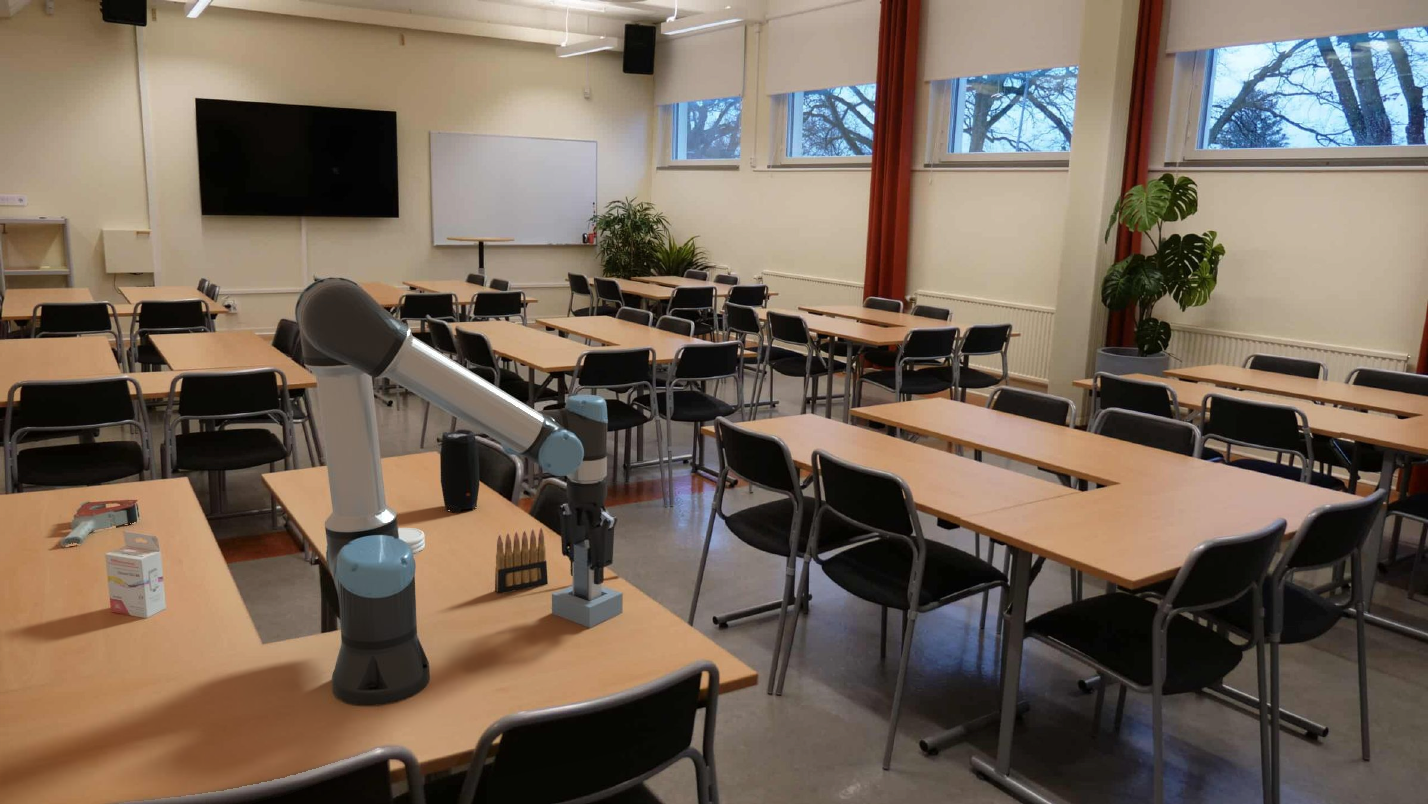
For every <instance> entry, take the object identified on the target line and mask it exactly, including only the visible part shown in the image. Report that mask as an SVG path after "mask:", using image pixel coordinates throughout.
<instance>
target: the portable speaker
mask: <svg viewBox="0 0 1428 804" xmlns="http://www.w3.org/2000/svg"><path fill="white" fill-rule="evenodd" d="M441 437H442V438H441V439H442V441H441V448H440V456H439V457H440V459H439V461H440V485H441V492H442V496H443V497H442V498H443V504H444V507H445V509H446V511H447V510H450V511H452V512H451V513H460V512H459V511H461V510H466V509H470V510H471V509H474V508H475V507H477V506H478V505H477V504H478V500H479V499H478V498H479V489H480V462H479V461H480V460H479V450H478V449H479V448H478V445H477V441H476V435H475V433H474V432H473V431H472V430H471V429H458V430H456V431H450V432H449V431H448V432H446V431H445V432H443V433H442V436H441ZM474 510H475V509H474Z"/></svg>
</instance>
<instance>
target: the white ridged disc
mask: <svg viewBox="0 0 1428 804" xmlns="http://www.w3.org/2000/svg"><path fill="white" fill-rule="evenodd" d="M398 533H399V539H401V540H403V541H405V542H406V543H407V544H408V545H409V546H410V547H411V549H412V551H413V555H414V553H415V554H417V552H418V553H420V552H422V551H423V550H424V549H425V547H426V545H425V541H426V539H425V533H424V532H423V531H422V530H420V529H419V528H414V527H398ZM423 548H424V549H423ZM421 550H422V551H421ZM419 551H420V552H419Z"/></svg>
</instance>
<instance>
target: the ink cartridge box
mask: <svg viewBox="0 0 1428 804" xmlns="http://www.w3.org/2000/svg"><path fill="white" fill-rule="evenodd" d="M122 533H123V537H124V543H125V545H124V546H121V547H119V548H117V549H114V550H112V551H109V552H107V553H105V554H104V556H105V566H106V574H107V575H106V576H107V583H108V585H107V586H108V594H109V595H108V596H109V605H110V612H111V613H116V614H119V615H121V614H122V615H127V616H132V617H137V618H141V619H142V618H144V619H147V618H150V617H152V616H154V615H155V614H158V613H159V612H162V611H164V610H165V609H166V608H167V607H166V606H167V605H166V595H165V585H164V571H163V562H162V552H161V550H160V544H159V538H158V536H157V535H153V534H145V533H141V532H134V531H127V530H125V531H123V532H122ZM136 539H138V540H139V539H142V540H144V541H146V542H143V541H137V540H136Z"/></svg>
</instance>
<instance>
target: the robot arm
mask: <svg viewBox="0 0 1428 804" xmlns="http://www.w3.org/2000/svg"><path fill="white" fill-rule="evenodd" d="M298 296H299V297H298V299H297V301H296V304H295V309H294V317H295V322H296V324H297V325H298V326H297V327H298V328H299V333H300V344H301V351H302V357H303V364H304V366H305V367H306V368H307V369H308V370H310V371H311V372H312V373H313V374H315V375H314V376H315V380H316V389H317V395H318V396H317V397H318V398H317V399H318V405H319V412H320V420H321V429H322V437H323V445H324V454H325V460H326V468H327V477H328V484H329V491H330V500H331V501H330V502H331V508H332V513H331V514H330V515H328V517H326V519H325V521H324V529H325V537H326V552H325V558H326V564H327V567H328V569H329V572H330V574H331V577H332V580H333V582H334V585H335V586H334V587H335V589H336V593H337V597H338V605H339V623H340V637H341V642H340V643H341V644H340V648H339V651H338V654H337V658H336V662H335V666H334V670H333V671H332V674H331V684H332V685H331V687H332V690H331V691H332V693H333V695H334V696H335V698H336V699H338V700H339V701H342V702H344V703H347V704H350V705H355V706H367V707H368V706H371V707H372V706H382V705H390V704H394V703H397V702H401V701H403V700H407V699H409V698H411V697H413V696H415V695H417V694H419V693H420V692H421V691H423V690H424V689H425V688H426V687H427V685H428V684H429V682H430V679H431V671H430V670H431V669H430V668H431V667H430V663H429V660H428V657H427V655H426V653H425V650H424V648H423V645H422V643H421V641H420V638H419V635H418V629H417V628H418V623H417V622H418V621H417V599H416V598H417V597H416V567H417V566H416V560H415V557H414V554H413V551H412V549H411V547H410V546H409V545H408V544H407V543H406V542H405V541H403V540H401V539H399V533H398V528H399V527H398V526H399V525H398V519H397V518H398V517H397V512H396V511H395V510H394V509H392V507H390V506H388V505H387V503H386V494H385V484H384V475H383V467H382V466H383V465H382V459H381V458H382V457H381V449H380V448H381V447H380V439H379V429H378V424H377V423H378V421H377V414H376V413H377V412H376V404H375V403H376V402H375V395H374V394H375V393H374V387H373V379H376V380H379V379H383V378H387V379H388V380H390V381H392V382H394V383H396V384H397V385H399V386H401V387H402V388H404V389H406V390H408V391H409V392H412V393H413V394H415V395H416V396H419V397H420V398H422V399H423V400H425V401H427V402H429V403H430V404H432V405H434V406H436V408H437V407H438V408H440V409H441V410H443V411H444V412H446V413H448V414H450V415H451V416H453V417H455V418H457V419H459V420H460V421H462V422H464V423H465V424H467V425H469V426H471V427H473V428H475V429H476V430H478V431H479V432H481V433H483V434H485V435H487V436H488V437H490V438H492V439H494V440H495V441H497V442H499V443H500V444H501V448H502V450H503V452H504V453H505V454H506V455H510V456H511V455H513V456H514V455H515V456H516V455H519V456H522V457H524V458H526V459H528V460H529V461H531V462H533V463H534V464H536V465H538V466H540V468H541V469H542V470H543V471H545V472H547V473H549V474H550V475H553V476H556V477H565V476H566V477H567V479H566V498H567V499H568V502H567V503H563V504H561V505H558V506H557V512H558V515H559V518H560V519H559V521H560V522H559V523H560V541H561V554H562V556H563V557H567V558H568V560H569V563H570V577H572V585H573V595H574V544H576V543H579V542H582V541H585V540H586V539H585V536H586V534H587V540H589V547H590V555H591V562H592V566H590V567H589V601H592V600H594V599H596V598H599V597H601V586H602V584H603V583H604V579H605V578H604V576H605V575H604V573H605V571H604V570H605V569H604V568H606V567H609V566H610V565H612V564H613V561H614V560H613V559H614V558H613V556H614V542H615V541H614V540H615V528H616V525H617V522H618V518H617V516H615V515H614V516H610V515H609V514H608V513H607V509H606V506H605V502H606V498H607V497H608V480H607V478H606V477H607V475H608V472H607V470H608V456H607V455H608V452H607V451H608V448H607V447H608V423H609V420H608V408H607V401H606V400H605V399H604V398H603V397H602V396H599V395H596V394H576V395H571V396H568V397H567V398H566V400H565V405H564V407H563V408H560V409H546V410H535V409H533V408H532V407H531V406H529V405H527V404H526V403H524V402H522V401H520V400H519V399H517V398H516V397H514V396H512V395H510V394H509V393H507V392H506V391H504V390H502V389H501V388H500V387H498V386H496V385H494V384H492V383H491V382H489V381H488V380H486V379H485V378H483V377H481V376H480V375H478V374H476V373H474V372H472V371H471V370H469V369H468V368H466V367H464V366H463V365H461V364H459V363H458V362H457V361H455V360H453V359H451V358H450V357H448V356H446V355H444V354H443V353H442V352H440V351H438V350H436V349H435V348H433V347H432V346H430V345H429V344H427V343H426V342H424V341H422V340H420V339H419V338H417V337H415V336H413V334H412V330H411V326H409V325H408V324H407V323H404V322H403V321H402V320H400V319H398V318H397V317H396V316H394V315H393V314H391V313H390V312H389V311H388V310H387V309H385V308H384V307H383V306H382V305H381V304H380V303H379V302H378V301H376V299H375V298H374V297H373V296H372V295H370V294H369V293H368V292H367V291H366V290H365V289H364V288H363V287H362V286H361V285H360V284H359V283H357V282H356V281H353V280H351V279H349V278H344V277H333V276H332V277H331V276H330V277H324V278H321V279H318V280H316V281H313V282H312V283H310V284H309V285H308V286H307V287H305V288H304V289H303V290H302V293H300V295H298ZM598 560H599V561H598Z"/></svg>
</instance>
